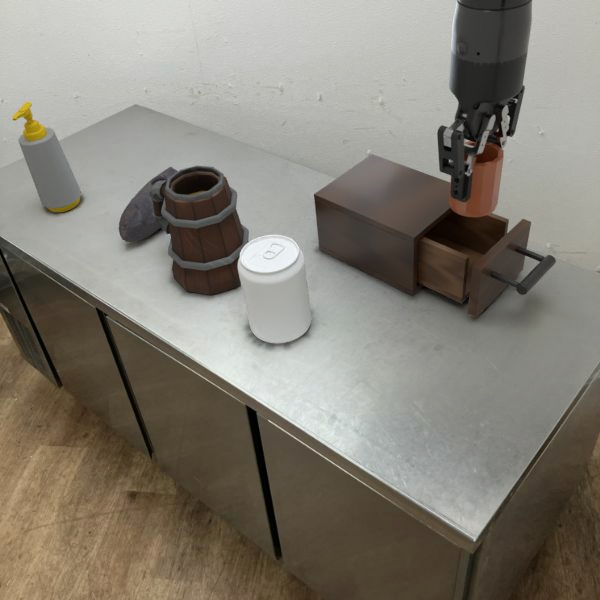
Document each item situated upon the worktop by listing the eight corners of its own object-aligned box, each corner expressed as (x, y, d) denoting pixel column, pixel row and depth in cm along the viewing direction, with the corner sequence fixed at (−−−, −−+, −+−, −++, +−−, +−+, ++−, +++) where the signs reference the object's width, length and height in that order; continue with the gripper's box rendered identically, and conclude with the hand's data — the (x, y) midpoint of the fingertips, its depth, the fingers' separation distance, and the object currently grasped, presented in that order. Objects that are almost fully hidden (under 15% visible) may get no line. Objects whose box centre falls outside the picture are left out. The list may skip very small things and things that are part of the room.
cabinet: (465, 248, 93) (471, 190, 86) (412, 296, 86) (414, 237, 80) (373, 208, 102) (371, 153, 95) (319, 249, 96) (313, 194, 89)
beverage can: (238, 334, 84) (221, 263, 76) (272, 296, 89) (260, 225, 81) (290, 354, 81) (279, 282, 73) (323, 314, 85) (315, 242, 77)
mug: (270, 256, 95) (255, 168, 85) (218, 306, 89) (195, 216, 78) (192, 227, 103) (170, 143, 93) (138, 271, 96) (108, 185, 86)
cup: (505, 200, 78) (513, 149, 73) (480, 223, 75) (486, 171, 71) (465, 185, 81) (470, 135, 76) (440, 207, 78) (443, 156, 74)
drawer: (557, 284, 84) (568, 235, 79) (511, 335, 78) (519, 286, 73) (426, 228, 95) (427, 183, 90) (376, 269, 90) (375, 223, 84)
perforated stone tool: (137, 255, 99) (124, 218, 94) (113, 246, 101) (99, 209, 97) (199, 204, 108) (190, 167, 103) (175, 196, 110) (165, 161, 105)
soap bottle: (37, 215, 110) (-8, 118, 98) (54, 191, 115) (14, 96, 103) (74, 215, 109) (34, 117, 97) (90, 192, 114) (54, 95, 102)
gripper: (483, 79, 60) (469, 227, 71) (559, 27, 67) (534, 169, 78) (416, 62, 64) (412, 204, 75) (494, 14, 71) (479, 151, 82)
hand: (474, 186), depth 77 cm, fingers closed on cup, 5 cm apart
